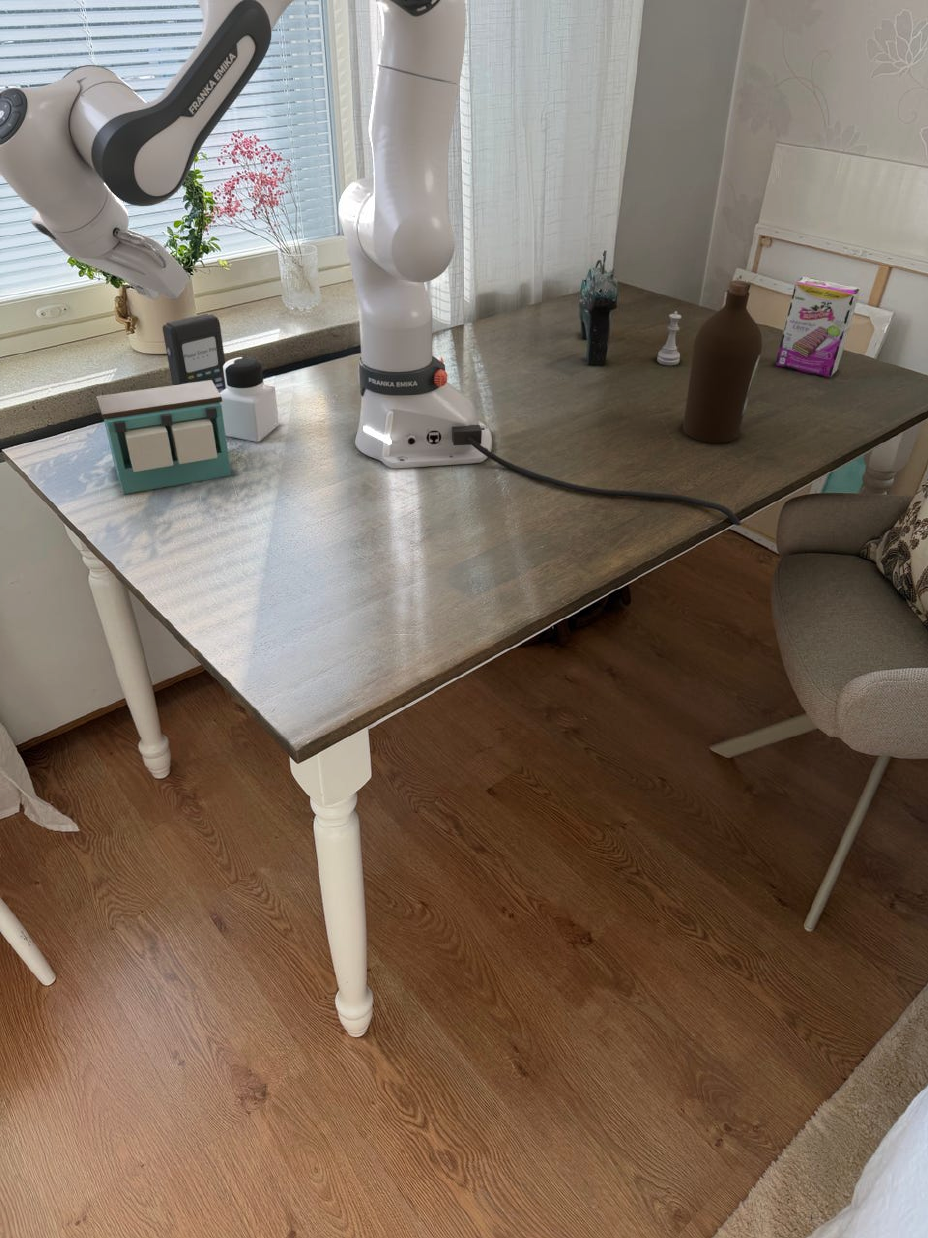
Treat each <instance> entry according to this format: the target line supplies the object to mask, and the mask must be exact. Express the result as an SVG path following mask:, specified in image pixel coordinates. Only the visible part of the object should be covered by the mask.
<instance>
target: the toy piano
mask: <svg viewBox="0 0 928 1238" xmlns="http://www.w3.org/2000/svg"><path fill="white" fill-rule="evenodd" d="M95 398H96V403H97V406H98V408H99V412H100V414H101V418H102V420H103V423H104V426H105V429H106V435H107V439H108V444H109V448H110V452H111V456H112V461H113V465H114V466H113V467H114V469H115V472H116V475H117V478H118V482H119V485H120V488H121V492H122V494H123V495H129V494H134V493H139V492H140V493H141V492H145V491H152V490H155V489H156V490H158V489H162V488H163V489H164V488H167V487H173V486H174V487H175V486H179V485H186V484H190V483H196V482H202V481H207V480H213V479H218V478H224V477H229V476H232V470H231V463H230V455H229V449H228V442H227V436H226V434H225V428H224V421H223V413H222V407H221V404H220V402H222V397H221V395H220V393H219V392H218V390H217V388H216V387H215V385H214V383H213V381H212V380H208V381H201V382H194V383H187V384H179V385H173V384H172V385H167V386H158V387H151V388H144V389H138V390H130V391H124V392H118V393H117V392H116V393H109V394H103V395H96V396H95ZM204 417H207V418H208V419H210V421H211V423H212V426H213V432H214V439H215V445H216V452H217V458H214V459H208V460H202V461H196V462H190V463H184V464H179V463H178V460H177V458H176V456H175V453H174V447H173V442H172V436H171V431H170V425H173V422H178V421H185V420H191V419H198V418H204ZM159 424H163V426H165V428H166V430H167V433H168V438H169V444H170V449H171V454H172V460H173V466H167V467H161V468H155V469H149V470H144V471H138V472H134V471H133V468H132V465H131V462H130V458H129V453H128V449H127V444H126V439H125V435H124V432H127V429H133V428H140V427H146V426H153V425H159Z"/></svg>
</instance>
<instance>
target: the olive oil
mask: <svg viewBox="0 0 928 1238" xmlns="http://www.w3.org/2000/svg"><path fill="white" fill-rule="evenodd" d="M750 289H751V283H750V282H748V281H745V280H739V279H738V280H737V279H736V280H732V281H729V285H728V290H727V291H726V296H725V303H724V306H722V307H721V308H720V309H719V310H718V311H716V312H715V313H714V314H712V315H711V316H710V317H709V318H707V320H705V321H704V322H703V323H702V324H701V325H700V327H699V329H698V331H697V333H696V335H695V338H694V341H693V349H692V357H691V367H690V374H689V382H688V387H687V388H688V390H687V396H686V405H685V411H684V418H683V424H682V430H683V432H684V433H685V434H686V435H687V436H688V437H690V438H692V439H694V440H695V441H699V442H702V443H708V444H726V443H731V442H733V441H735V440H736V439H737V438H738V437H739V435H740V431H741V428H742V423H743V419H744V415H745V411H746V408H747V405H748V401H749V397H750V393H751V389H752V386H753V382H754V379H755V375H756V371H757V369H758V364H759V361H760V358H761V354H762V348H763V337H762V332H761V330H760V328H759V326H758V324H757V322H756V321H755V320H754V318H753V317H752V315H751V313H750V312H749V310H748V309H747V307H748V302H749V299H750V298H749V297H750Z"/></svg>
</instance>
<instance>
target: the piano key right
mask: <svg viewBox="0 0 928 1238" xmlns="http://www.w3.org/2000/svg"><path fill="white" fill-rule="evenodd" d="M170 431H171V436H172V442H173V447H174V453H175V456H176V458H177V460H178V463H179V464H184V463H190V462H196V461H202V460H208V459H214V458H217V452H216V445H215V439H214V432H213V426H212V423H211V421H210V419H208V418H207V417H204V418H198V419H191V420H185V421H178V422H173V425H170Z"/></svg>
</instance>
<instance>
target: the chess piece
mask: <svg viewBox="0 0 928 1238" xmlns="http://www.w3.org/2000/svg"><path fill="white" fill-rule="evenodd" d="M668 318H669V320H670V323H669V325H668V326H667V327H666V330H667V331H668V332H669V333H668V336H667V340H666V343H665V344H664V345H663V346H662V348H661V349H660V350H659V351H658V353H657V359H656V361H657V362H658V364H661V365H664V366H677V365H678V364H679V363H680V357H681V354H680V352H679V351H678V346H676V334H677V332H679V331H680V326H679V324H678V323H679V321H680V320H682V315H681V314H678V311H677V310H675V311H674V312H673V313H670V314H669V315H668Z"/></svg>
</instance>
